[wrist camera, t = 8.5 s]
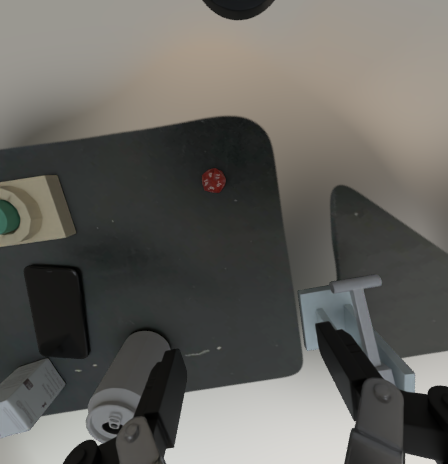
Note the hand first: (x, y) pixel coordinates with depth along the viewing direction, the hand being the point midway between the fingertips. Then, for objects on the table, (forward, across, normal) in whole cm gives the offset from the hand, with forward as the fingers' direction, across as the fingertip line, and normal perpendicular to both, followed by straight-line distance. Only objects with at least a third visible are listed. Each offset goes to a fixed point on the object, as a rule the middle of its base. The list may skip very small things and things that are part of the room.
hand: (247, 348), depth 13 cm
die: (+20, +1, -9) cm, 21 cm away
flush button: (+16, +26, -11) cm, 33 cm away
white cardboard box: (+19, +37, +16) cm, 45 cm away
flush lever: (+11, -12, +11) cm, 19 cm away
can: (+19, +18, +14) cm, 30 cm away
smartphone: (+19, +29, +5) cm, 35 cm away
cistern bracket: (+19, -12, +14) cm, 27 cm away
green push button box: (+19, +26, -11) cm, 34 cm away
